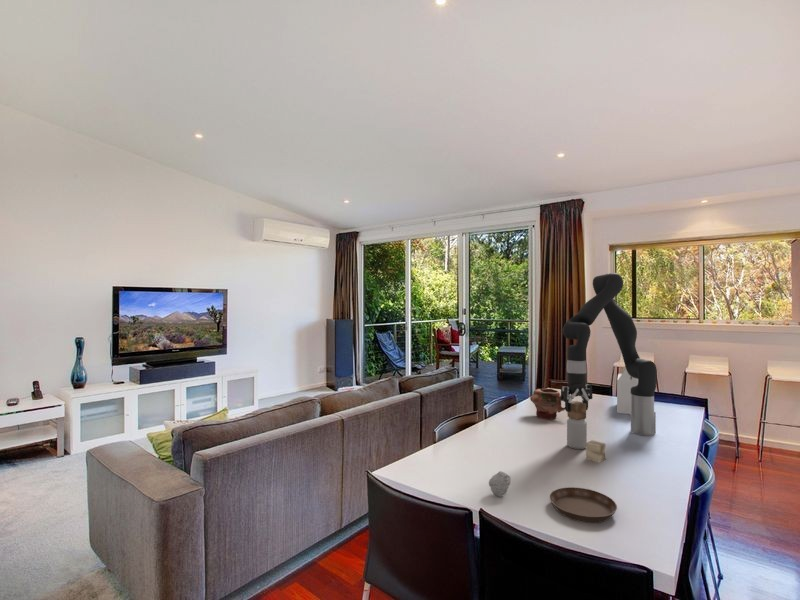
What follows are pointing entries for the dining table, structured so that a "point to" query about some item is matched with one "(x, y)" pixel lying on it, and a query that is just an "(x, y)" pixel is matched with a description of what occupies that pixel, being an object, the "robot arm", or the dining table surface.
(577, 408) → the walnut block
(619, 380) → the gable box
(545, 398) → the clay jug
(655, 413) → the robot arm
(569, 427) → the can
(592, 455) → the maple block
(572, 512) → the plant saucer
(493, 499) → the dining table surface
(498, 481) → the grey lumpy rounded piece
